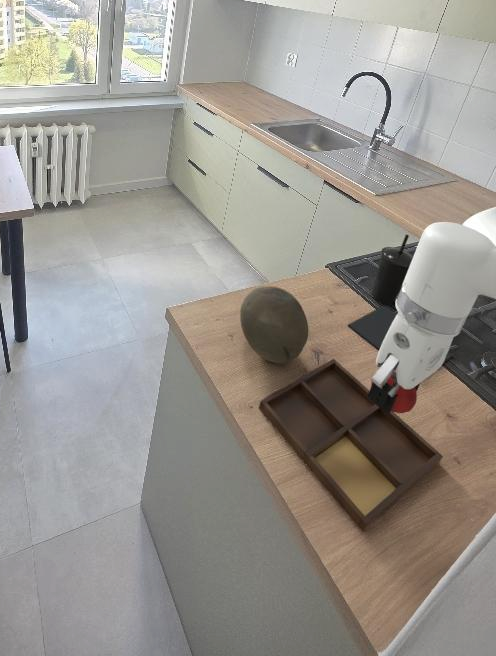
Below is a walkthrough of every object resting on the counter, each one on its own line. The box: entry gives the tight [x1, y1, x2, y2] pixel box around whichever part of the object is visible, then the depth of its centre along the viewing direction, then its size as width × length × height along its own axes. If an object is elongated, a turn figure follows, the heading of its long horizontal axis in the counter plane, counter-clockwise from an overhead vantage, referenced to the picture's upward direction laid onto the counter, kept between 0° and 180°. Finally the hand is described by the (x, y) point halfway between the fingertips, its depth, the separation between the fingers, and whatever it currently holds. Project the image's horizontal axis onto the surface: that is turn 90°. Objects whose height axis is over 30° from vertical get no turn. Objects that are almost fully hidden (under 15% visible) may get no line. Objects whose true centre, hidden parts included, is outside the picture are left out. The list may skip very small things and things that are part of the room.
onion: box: [370, 370, 418, 414], centre depth 64 cm, size 6×6×8 cm
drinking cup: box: [371, 234, 414, 306], centre depth 105 cm, size 8×8×20 cm
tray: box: [258, 358, 444, 532], centre depth 76 cm, size 21×21×2 cm
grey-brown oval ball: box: [239, 285, 309, 364], centre depth 90 cm, size 14×14×15 cm
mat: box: [347, 305, 454, 364], centre depth 97 cm, size 16×14×1 cm
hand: (391, 394), depth 64 cm, fingers closed on onion, 6 cm apart
